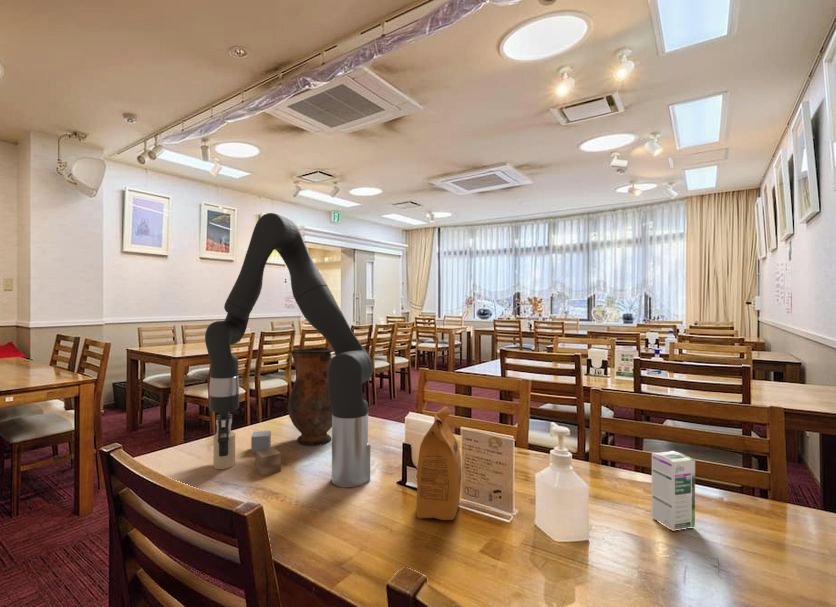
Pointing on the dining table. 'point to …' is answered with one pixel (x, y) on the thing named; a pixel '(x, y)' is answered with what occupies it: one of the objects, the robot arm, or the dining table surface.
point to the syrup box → (673, 489)
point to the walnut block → (268, 461)
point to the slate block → (260, 441)
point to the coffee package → (438, 471)
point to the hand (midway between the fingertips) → (224, 450)
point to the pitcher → (311, 396)
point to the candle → (227, 460)
